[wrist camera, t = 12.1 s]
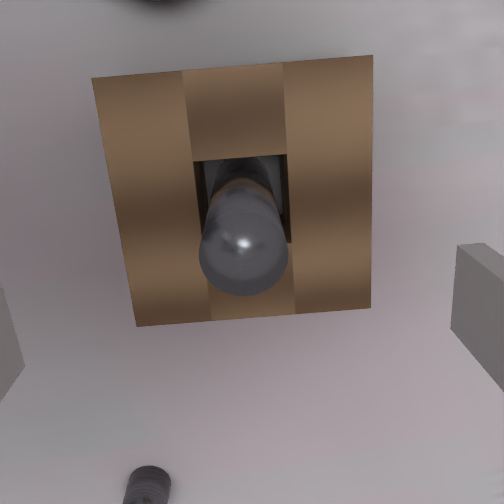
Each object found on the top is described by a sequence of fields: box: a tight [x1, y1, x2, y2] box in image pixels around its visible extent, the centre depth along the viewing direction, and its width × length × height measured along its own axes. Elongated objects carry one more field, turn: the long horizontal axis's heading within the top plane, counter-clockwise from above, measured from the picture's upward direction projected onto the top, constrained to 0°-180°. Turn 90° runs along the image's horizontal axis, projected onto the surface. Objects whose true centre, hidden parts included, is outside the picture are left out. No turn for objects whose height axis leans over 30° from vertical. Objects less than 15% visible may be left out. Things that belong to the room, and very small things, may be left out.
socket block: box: [91, 55, 373, 327], centre depth 29 cm, size 14×14×6 cm
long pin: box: [199, 157, 288, 296], centre depth 25 cm, size 4×4×14 cm
